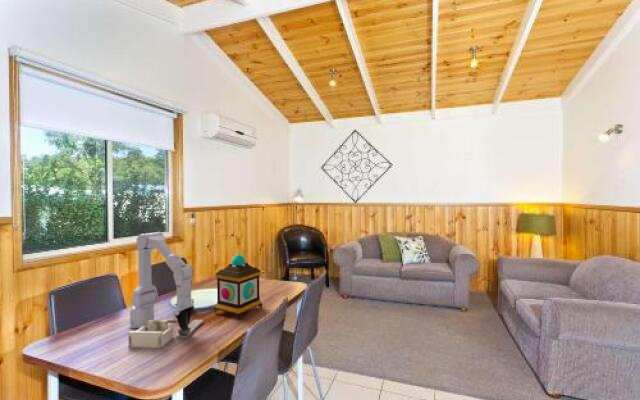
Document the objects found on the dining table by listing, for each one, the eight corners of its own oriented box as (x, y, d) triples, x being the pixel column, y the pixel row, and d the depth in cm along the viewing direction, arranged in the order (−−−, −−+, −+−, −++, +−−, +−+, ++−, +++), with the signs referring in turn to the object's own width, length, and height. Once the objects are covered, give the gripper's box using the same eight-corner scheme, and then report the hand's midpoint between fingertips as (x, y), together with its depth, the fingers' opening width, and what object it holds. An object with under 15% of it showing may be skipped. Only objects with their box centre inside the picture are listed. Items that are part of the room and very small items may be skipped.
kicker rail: (176, 338, 133) (176, 335, 133) (194, 322, 150) (194, 319, 150) (186, 338, 132) (186, 335, 132) (203, 322, 149) (203, 319, 149)
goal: (128, 347, 125) (128, 332, 125) (142, 336, 134) (142, 322, 134) (161, 347, 125) (160, 332, 124) (173, 337, 134) (172, 323, 134)
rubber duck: (148, 345, 127) (148, 325, 126) (143, 340, 131) (142, 321, 131) (162, 340, 131) (162, 321, 130) (156, 335, 135) (156, 317, 135)
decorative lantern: (239, 322, 149) (238, 260, 149) (210, 314, 159) (209, 256, 158) (266, 309, 166) (265, 253, 166) (238, 302, 176) (238, 249, 176)
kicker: (147, 336, 134) (147, 316, 133) (152, 332, 137) (152, 313, 137) (186, 337, 133) (186, 317, 133) (190, 333, 136) (190, 313, 136)
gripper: (185, 300, 127) (185, 333, 127) (200, 289, 142) (200, 318, 142) (168, 299, 128) (168, 332, 128) (185, 289, 142) (185, 318, 142)
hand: (184, 325), depth 135 cm, fingers closed on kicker, 3 cm apart
